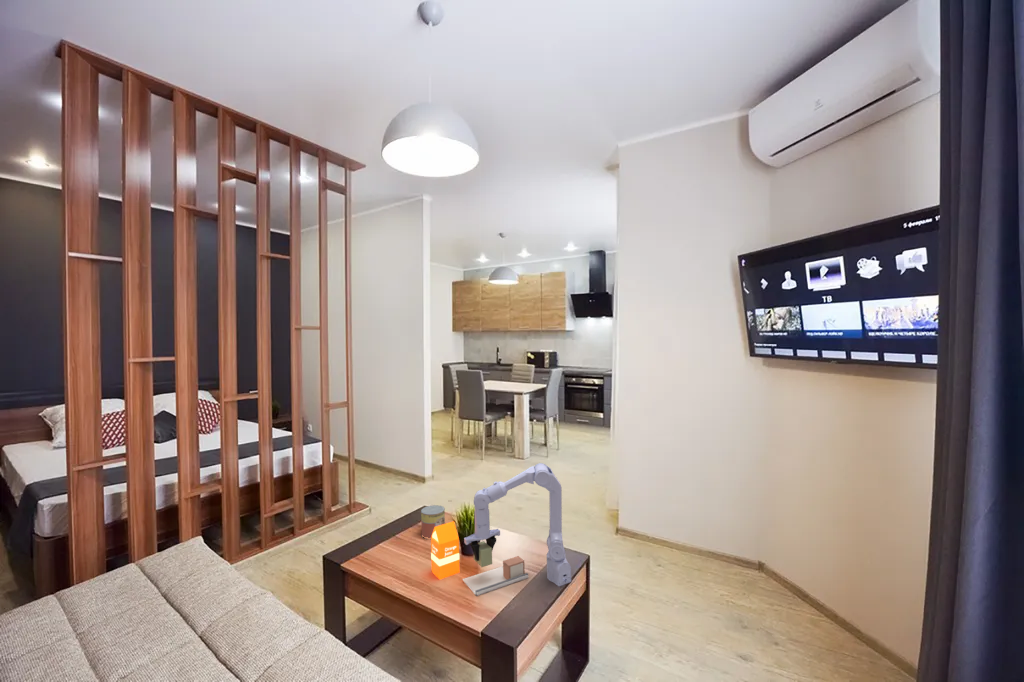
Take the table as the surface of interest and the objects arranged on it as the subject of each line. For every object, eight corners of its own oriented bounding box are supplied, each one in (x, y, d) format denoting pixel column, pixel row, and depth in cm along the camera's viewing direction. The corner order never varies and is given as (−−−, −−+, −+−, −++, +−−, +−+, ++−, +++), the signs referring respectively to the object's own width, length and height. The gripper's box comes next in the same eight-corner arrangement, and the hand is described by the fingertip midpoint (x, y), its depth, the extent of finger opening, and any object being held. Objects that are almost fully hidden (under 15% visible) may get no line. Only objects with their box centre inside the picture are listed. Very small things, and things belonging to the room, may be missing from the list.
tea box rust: (524, 576, 166) (524, 560, 166) (509, 581, 162) (508, 566, 162) (518, 571, 170) (518, 555, 170) (503, 576, 166) (503, 560, 166)
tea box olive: (484, 556, 169) (484, 541, 169) (492, 563, 163) (492, 548, 163) (473, 559, 166) (473, 544, 166) (481, 567, 160) (481, 551, 160)
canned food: (433, 541, 199) (433, 516, 199) (416, 536, 205) (416, 511, 205) (450, 532, 208) (449, 507, 208) (433, 527, 214) (432, 503, 214)
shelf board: (528, 580, 164) (528, 574, 164) (476, 598, 153) (476, 591, 153) (511, 565, 176) (511, 559, 176) (462, 581, 165) (462, 575, 165)
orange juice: (431, 573, 171) (430, 523, 171) (451, 566, 176) (449, 518, 176) (439, 582, 165) (438, 530, 165) (460, 574, 170) (458, 524, 170)
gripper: (493, 515, 172) (494, 548, 172) (460, 523, 164) (461, 558, 164) (502, 521, 166) (503, 556, 165) (468, 530, 158) (469, 566, 158)
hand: (483, 558), depth 164 cm, fingers closed on tea box olive, 5 cm apart
